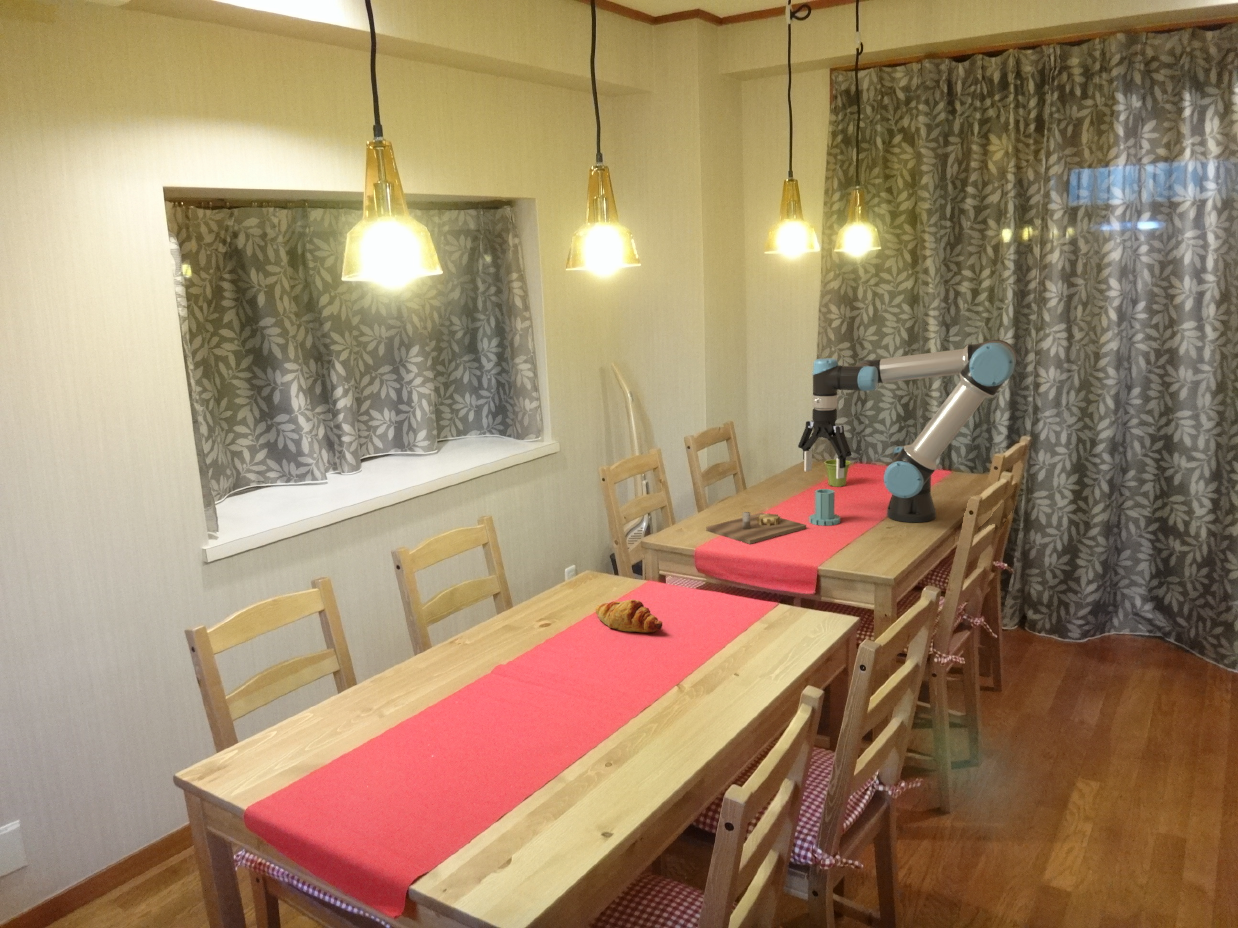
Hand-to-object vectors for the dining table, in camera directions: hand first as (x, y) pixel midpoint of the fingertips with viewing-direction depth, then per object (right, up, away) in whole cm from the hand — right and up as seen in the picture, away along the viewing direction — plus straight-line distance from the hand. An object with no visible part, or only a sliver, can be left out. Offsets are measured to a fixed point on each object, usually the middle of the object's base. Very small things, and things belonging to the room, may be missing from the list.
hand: (823, 474), depth 313 cm
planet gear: (+1, -15, +3) cm, 16 cm away
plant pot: (+15, -5, +49) cm, 52 cm away
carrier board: (-22, -17, -2) cm, 28 cm away
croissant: (-63, -36, -75) cm, 104 cm away
